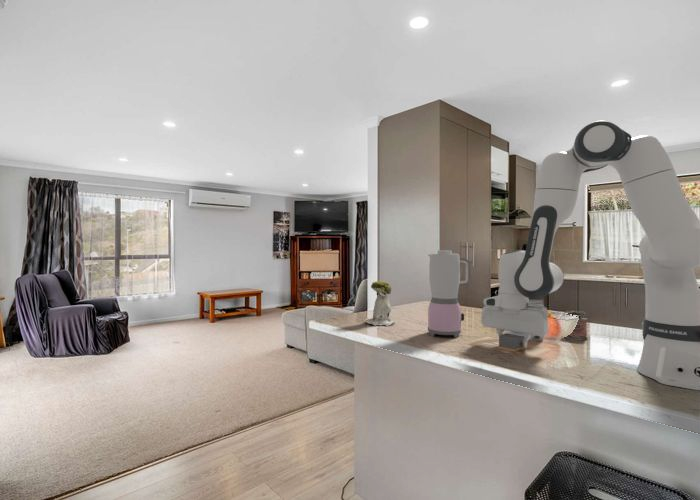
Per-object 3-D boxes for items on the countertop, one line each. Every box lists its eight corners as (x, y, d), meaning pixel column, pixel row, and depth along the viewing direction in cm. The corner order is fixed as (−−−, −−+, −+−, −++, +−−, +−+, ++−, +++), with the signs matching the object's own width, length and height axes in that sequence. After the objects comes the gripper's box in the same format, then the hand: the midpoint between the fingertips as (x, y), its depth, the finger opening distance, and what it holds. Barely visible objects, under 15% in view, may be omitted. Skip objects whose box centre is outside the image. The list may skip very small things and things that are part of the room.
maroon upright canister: (563, 339, 134) (564, 311, 134) (560, 336, 138) (561, 309, 138) (588, 340, 132) (589, 312, 132) (585, 338, 136) (585, 310, 136)
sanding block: (527, 346, 119) (527, 333, 119) (514, 351, 113) (514, 338, 113) (512, 343, 123) (512, 331, 123) (499, 348, 117) (499, 335, 117)
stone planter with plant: (364, 320, 167) (364, 279, 167) (393, 320, 167) (393, 279, 167) (365, 326, 155) (365, 282, 155) (396, 326, 155) (396, 282, 155)
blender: (428, 337, 136) (428, 250, 136) (426, 330, 148) (426, 250, 148) (472, 339, 134) (473, 250, 133) (467, 331, 146) (467, 250, 145)
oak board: (551, 354, 116) (552, 349, 116) (533, 364, 106) (533, 358, 106) (485, 340, 132) (485, 336, 132) (464, 348, 123) (464, 343, 123)
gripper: (552, 304, 112) (552, 350, 112) (488, 297, 127) (488, 337, 127) (544, 306, 108) (544, 354, 108) (478, 299, 123) (478, 340, 123)
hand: (513, 345), depth 118 cm, fingers closed on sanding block, 5 cm apart
